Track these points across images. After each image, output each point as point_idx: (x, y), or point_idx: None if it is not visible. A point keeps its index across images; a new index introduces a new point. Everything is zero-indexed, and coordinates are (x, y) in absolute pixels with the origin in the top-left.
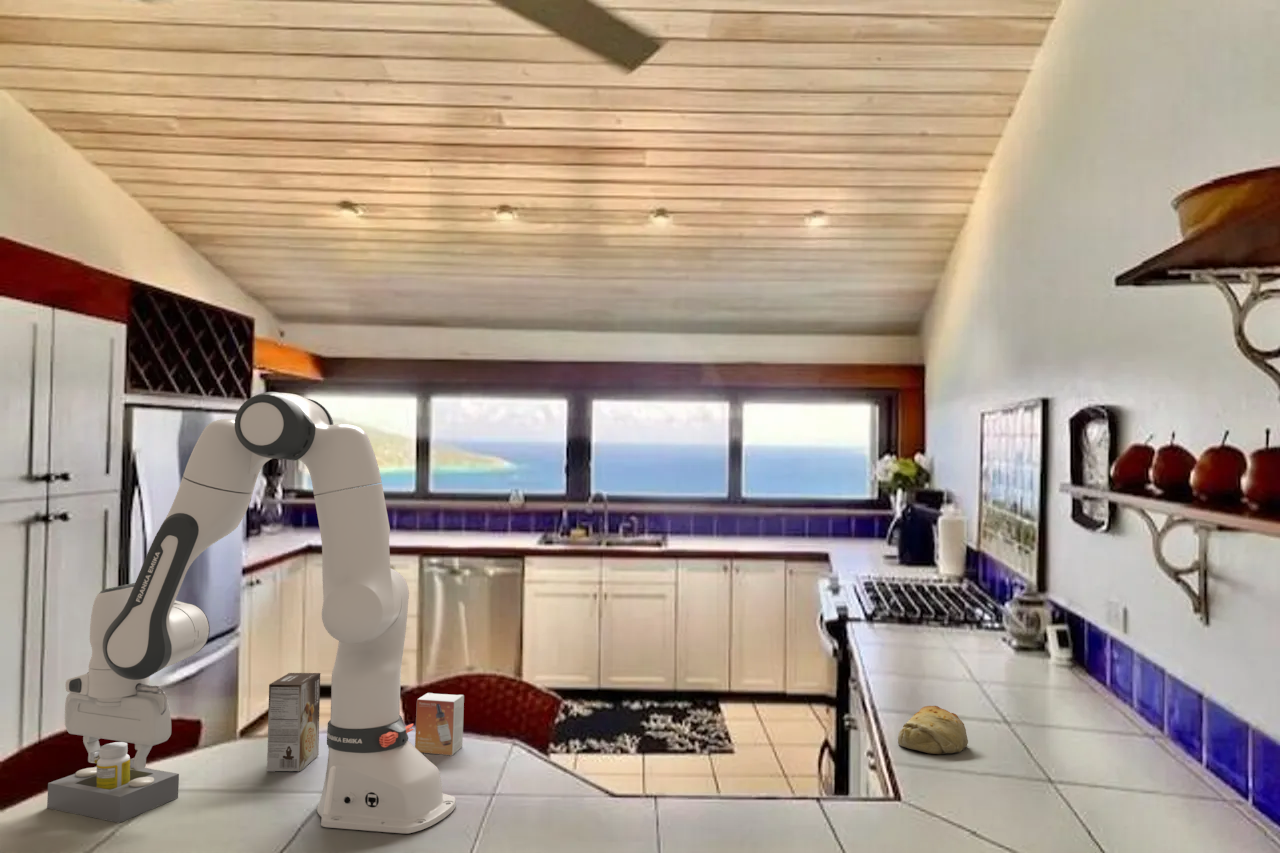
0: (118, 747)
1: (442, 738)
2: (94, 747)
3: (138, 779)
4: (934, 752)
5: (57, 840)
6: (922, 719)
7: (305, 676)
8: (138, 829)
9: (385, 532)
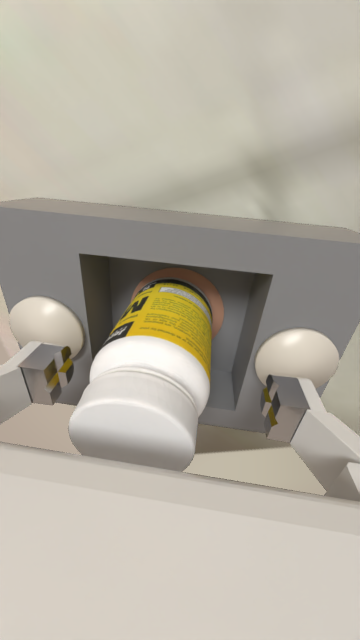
0: (178, 460)
1: None
2: (7, 398)
3: (276, 359)
4: None
5: (223, 447)
6: None
7: None
8: (346, 403)
9: None
